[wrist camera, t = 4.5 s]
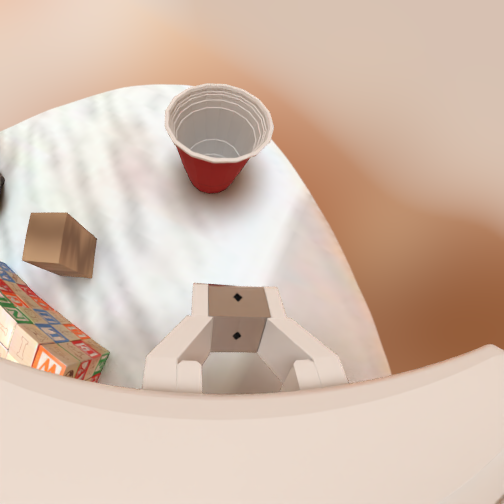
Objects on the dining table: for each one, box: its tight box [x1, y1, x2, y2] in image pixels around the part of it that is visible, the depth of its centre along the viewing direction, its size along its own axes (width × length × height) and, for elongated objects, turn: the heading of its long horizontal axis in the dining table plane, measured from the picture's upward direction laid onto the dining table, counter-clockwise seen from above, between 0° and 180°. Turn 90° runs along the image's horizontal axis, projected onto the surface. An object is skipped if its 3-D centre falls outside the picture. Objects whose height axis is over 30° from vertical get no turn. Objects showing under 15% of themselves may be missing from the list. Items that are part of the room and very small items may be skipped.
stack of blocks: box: [0, 262, 110, 383], centre depth 21 cm, size 21×6×12 cm, turn 64°
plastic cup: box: [165, 84, 274, 194], centre depth 29 cm, size 11×11×12 cm
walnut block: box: [22, 213, 97, 278], centre depth 25 cm, size 5×5×9 cm
